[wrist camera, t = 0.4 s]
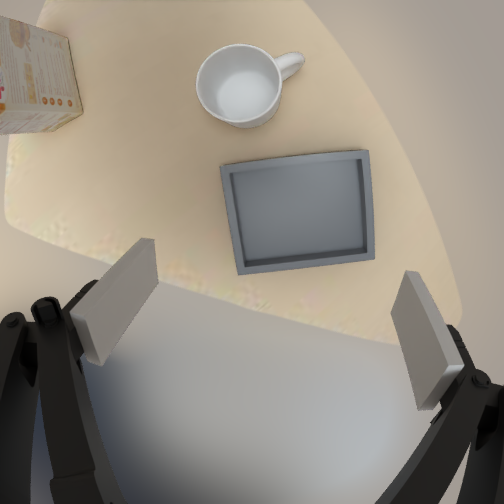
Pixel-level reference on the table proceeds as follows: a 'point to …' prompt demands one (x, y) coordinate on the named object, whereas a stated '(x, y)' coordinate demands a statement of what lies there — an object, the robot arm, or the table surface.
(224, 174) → the tray
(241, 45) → the mug
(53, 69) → the coffeecake box
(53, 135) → the table surface
